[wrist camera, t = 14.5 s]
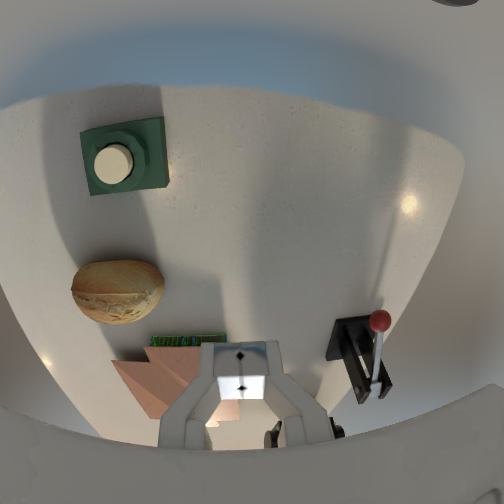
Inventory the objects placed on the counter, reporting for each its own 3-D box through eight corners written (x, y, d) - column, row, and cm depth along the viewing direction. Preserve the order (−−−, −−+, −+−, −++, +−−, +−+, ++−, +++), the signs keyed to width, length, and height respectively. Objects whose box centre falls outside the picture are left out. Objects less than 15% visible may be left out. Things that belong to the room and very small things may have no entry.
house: (154, 412, 62) (151, 438, 55) (106, 331, 45) (94, 366, 38) (240, 412, 64) (242, 440, 57) (230, 330, 46) (232, 370, 39)
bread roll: (69, 253, 36) (45, 286, 29) (156, 241, 36) (141, 277, 29) (91, 302, 41) (75, 336, 34) (173, 296, 41) (165, 335, 35)
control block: (97, 189, 31) (84, 201, 28) (87, 129, 27) (72, 135, 24) (169, 181, 32) (162, 193, 29) (164, 116, 28) (155, 119, 24)
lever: (365, 308, 41) (376, 314, 37) (385, 305, 41) (396, 311, 37) (357, 390, 42) (366, 401, 38) (375, 386, 42) (384, 396, 38)
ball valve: (258, 411, 64) (265, 473, 49) (266, 397, 60) (274, 464, 45) (322, 409, 67) (335, 464, 52) (334, 394, 63) (351, 454, 48)
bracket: (336, 319, 47) (361, 383, 35) (380, 313, 47) (410, 371, 36) (325, 356, 53) (342, 415, 41) (364, 350, 53) (386, 404, 42)
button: (103, 181, 27) (97, 186, 26) (98, 147, 25) (91, 150, 24) (135, 177, 28) (130, 182, 26) (130, 141, 26) (125, 144, 24)
